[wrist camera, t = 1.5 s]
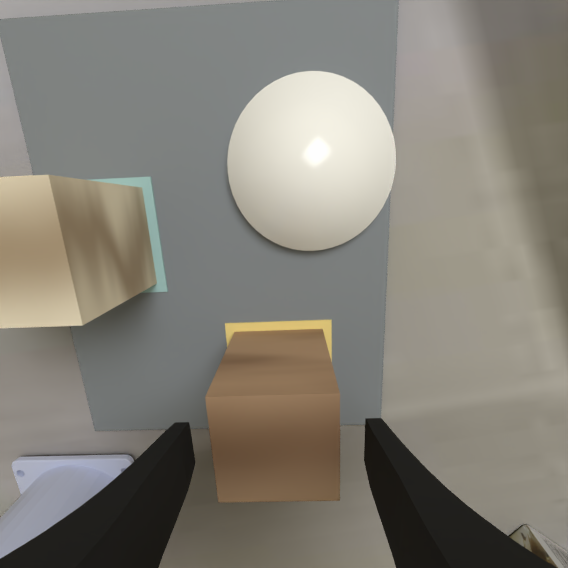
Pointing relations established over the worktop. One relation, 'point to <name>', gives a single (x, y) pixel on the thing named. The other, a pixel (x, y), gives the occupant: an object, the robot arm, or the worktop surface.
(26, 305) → the beech block
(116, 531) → the robot arm
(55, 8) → the worktop surface
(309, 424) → the walnut block
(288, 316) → the grey board
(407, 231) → the worktop surface
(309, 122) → the white flat disc
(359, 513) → the worktop surface
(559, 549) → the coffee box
